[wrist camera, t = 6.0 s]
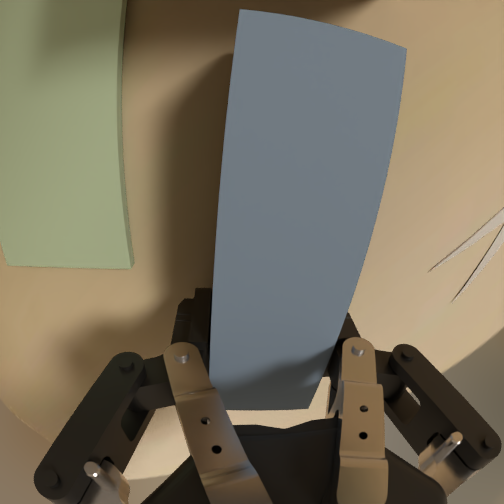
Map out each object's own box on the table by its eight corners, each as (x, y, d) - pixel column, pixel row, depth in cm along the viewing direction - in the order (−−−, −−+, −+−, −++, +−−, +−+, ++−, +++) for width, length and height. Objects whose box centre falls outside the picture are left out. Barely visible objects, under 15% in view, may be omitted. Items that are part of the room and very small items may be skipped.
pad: (-2, 0, 6) (-9, -1, 6) (134, -48, 7) (131, -53, 7) (12, 260, 13) (7, 265, 13) (134, 262, 14) (131, 269, 14)
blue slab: (236, 42, 9) (239, 9, 5) (349, 61, 10) (406, 48, 6) (211, 340, 16) (208, 409, 12) (292, 343, 16) (307, 408, 12)
